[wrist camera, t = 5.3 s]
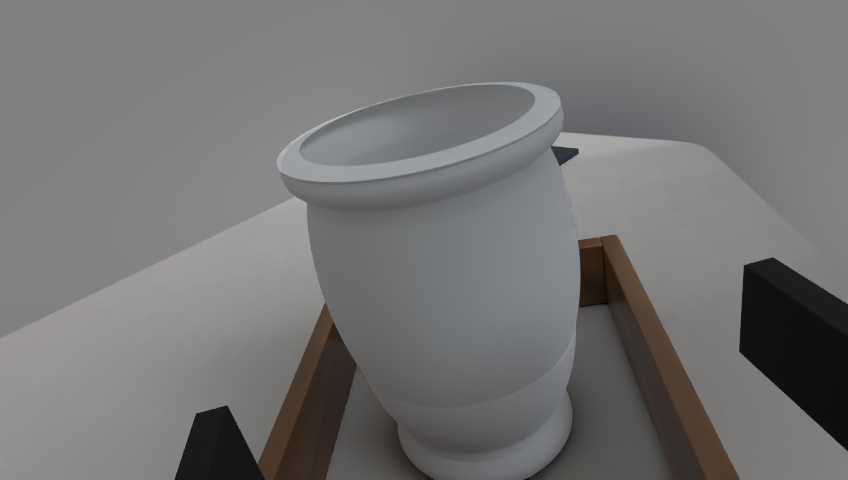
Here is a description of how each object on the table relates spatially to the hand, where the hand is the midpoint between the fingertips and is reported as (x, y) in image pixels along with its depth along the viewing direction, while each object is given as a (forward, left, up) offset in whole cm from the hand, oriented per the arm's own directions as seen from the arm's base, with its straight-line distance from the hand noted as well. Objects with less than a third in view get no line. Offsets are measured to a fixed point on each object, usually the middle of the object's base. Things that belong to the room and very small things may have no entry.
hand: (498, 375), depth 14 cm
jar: (+2, -9, -11) cm, 14 cm away
